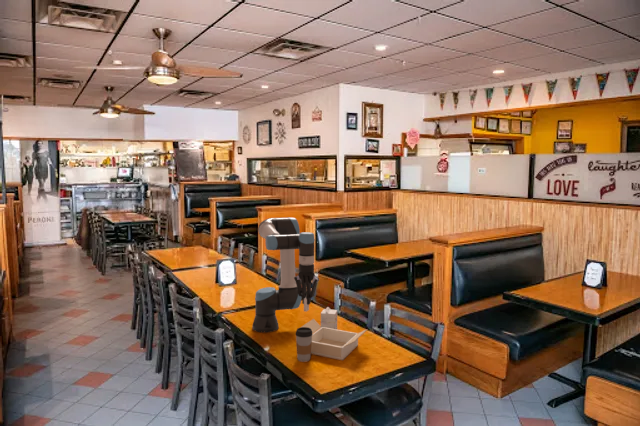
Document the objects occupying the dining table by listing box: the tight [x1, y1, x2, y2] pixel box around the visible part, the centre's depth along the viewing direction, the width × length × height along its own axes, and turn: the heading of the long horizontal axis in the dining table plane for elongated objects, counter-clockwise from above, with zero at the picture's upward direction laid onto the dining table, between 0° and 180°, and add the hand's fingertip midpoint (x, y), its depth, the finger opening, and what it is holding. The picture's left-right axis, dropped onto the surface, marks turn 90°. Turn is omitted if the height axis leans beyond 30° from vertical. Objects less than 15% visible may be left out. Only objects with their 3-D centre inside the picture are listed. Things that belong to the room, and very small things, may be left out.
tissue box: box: [320, 306, 338, 330], centre depth 262 cm, size 9×8×13 cm
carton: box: [311, 327, 359, 361], centre depth 237 cm, size 21×22×6 cm
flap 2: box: [344, 328, 369, 347], centre depth 230 cm, size 6×19×1 cm
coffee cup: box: [295, 326, 312, 363], centre depth 223 cm, size 8×8×15 cm
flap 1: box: [299, 318, 321, 334], centre depth 242 cm, size 6×19×1 cm
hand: (306, 310), depth 226 cm, fingers closed
